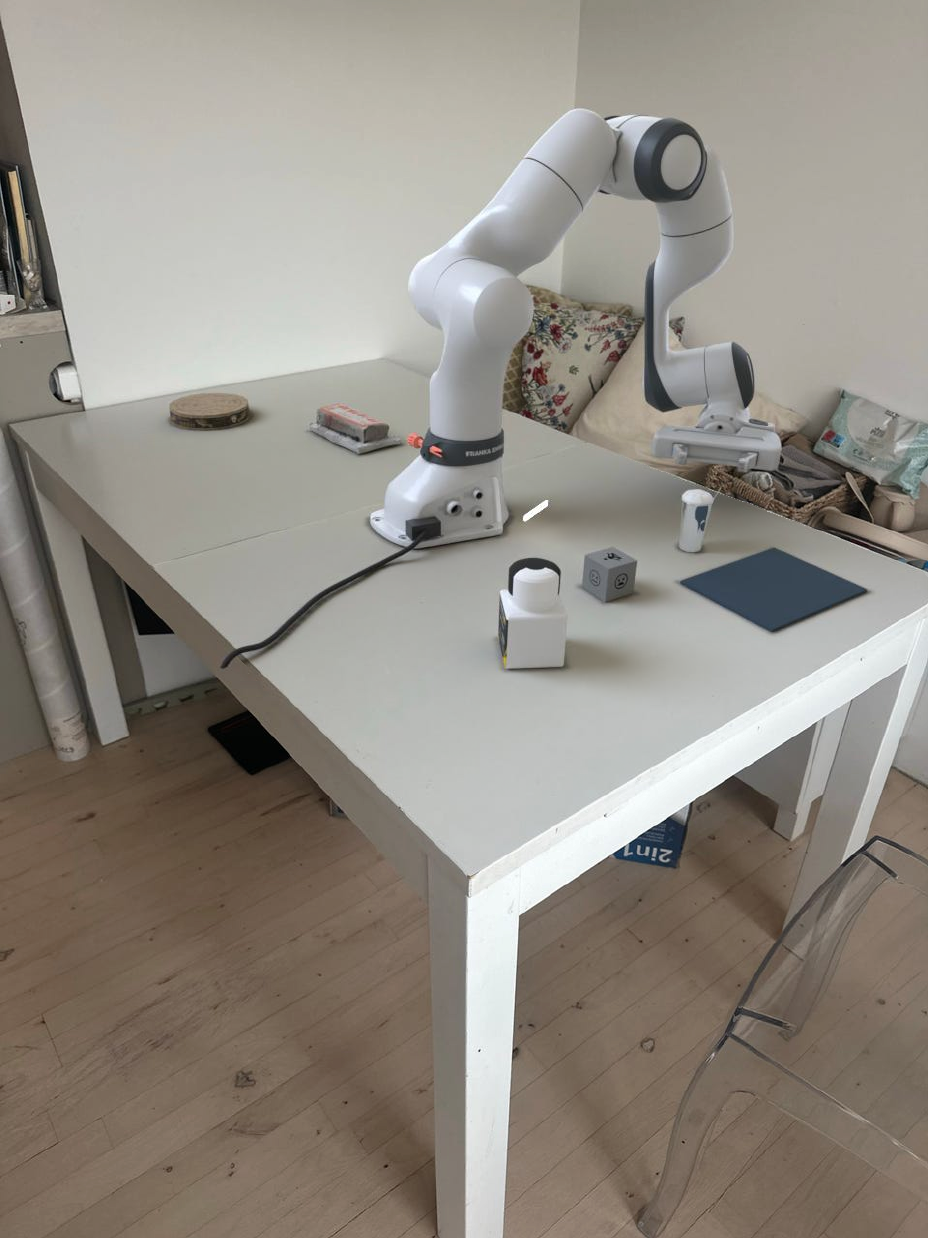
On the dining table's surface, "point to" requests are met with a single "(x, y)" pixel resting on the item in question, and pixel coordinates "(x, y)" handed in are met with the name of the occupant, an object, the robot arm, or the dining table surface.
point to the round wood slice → (209, 411)
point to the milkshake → (694, 519)
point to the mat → (773, 588)
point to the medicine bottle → (532, 616)
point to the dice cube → (609, 574)
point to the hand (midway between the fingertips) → (711, 463)
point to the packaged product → (352, 429)
